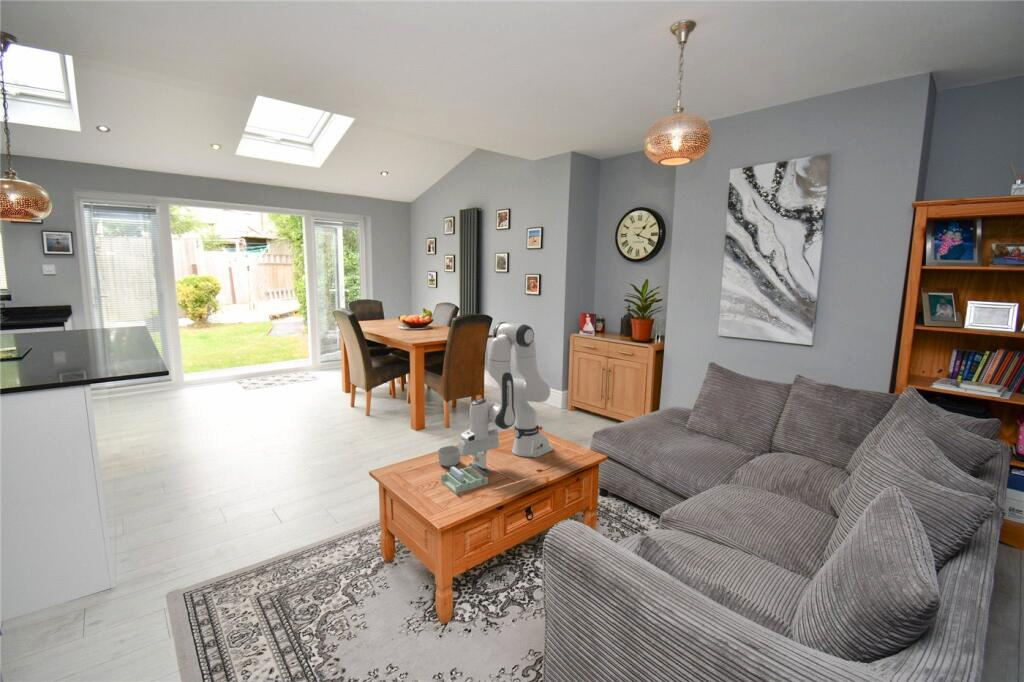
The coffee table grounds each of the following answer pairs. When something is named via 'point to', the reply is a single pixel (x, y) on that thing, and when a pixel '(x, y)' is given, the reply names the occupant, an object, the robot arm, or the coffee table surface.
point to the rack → (462, 479)
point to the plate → (480, 460)
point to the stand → (480, 469)
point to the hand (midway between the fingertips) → (479, 460)
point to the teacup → (449, 455)
